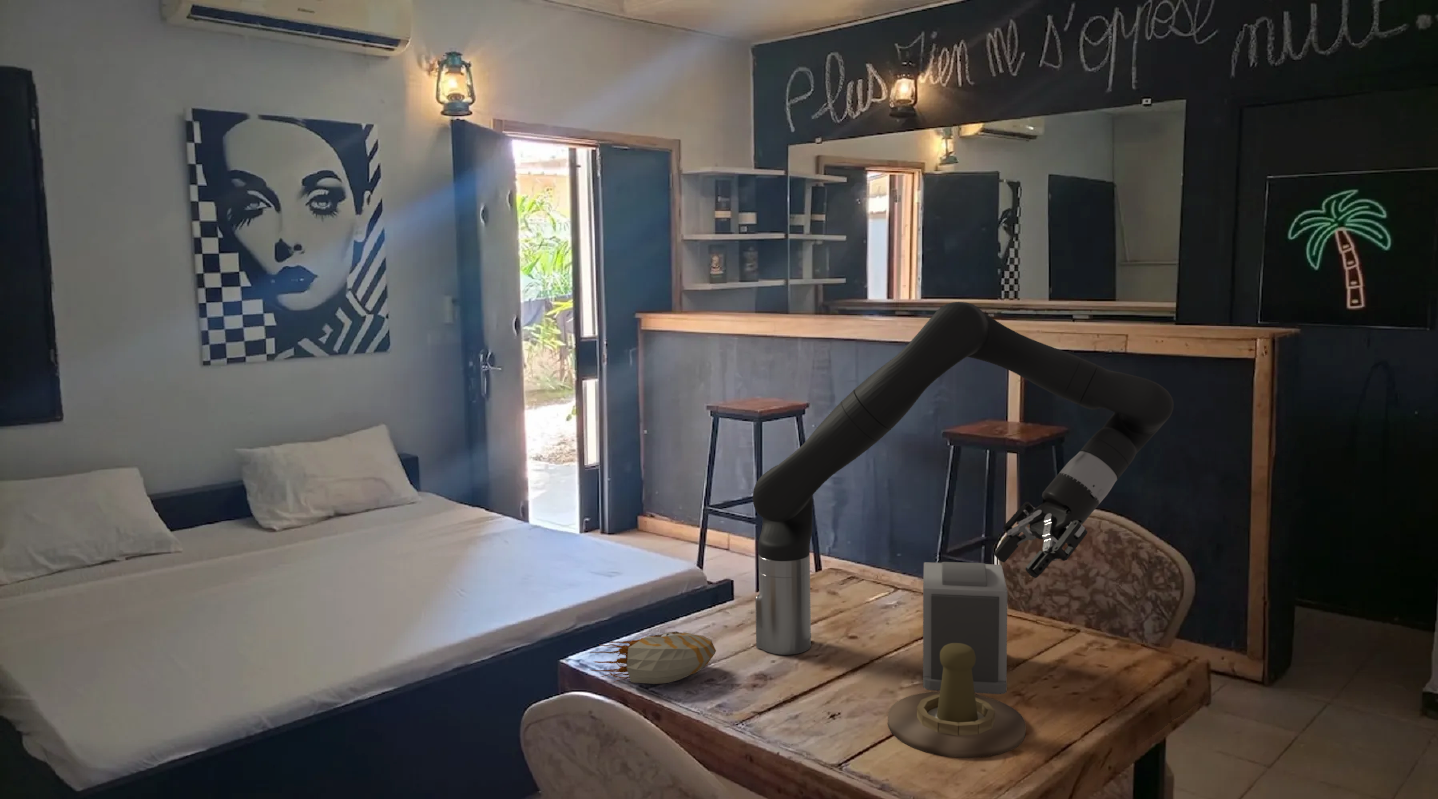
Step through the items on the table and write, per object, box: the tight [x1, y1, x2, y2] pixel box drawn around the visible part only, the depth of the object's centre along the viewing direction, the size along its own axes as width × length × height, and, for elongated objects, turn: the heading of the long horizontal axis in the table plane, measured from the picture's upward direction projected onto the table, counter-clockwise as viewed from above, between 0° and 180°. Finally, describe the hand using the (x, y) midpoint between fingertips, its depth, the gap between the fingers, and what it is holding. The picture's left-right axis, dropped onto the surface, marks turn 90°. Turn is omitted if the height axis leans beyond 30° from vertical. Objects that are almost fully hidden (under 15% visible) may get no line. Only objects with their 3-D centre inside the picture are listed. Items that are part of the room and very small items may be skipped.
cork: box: [937, 643, 978, 723], centre depth 154 cm, size 6×6×11 cm
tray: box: [887, 690, 1027, 759], centre depth 154 cm, size 20×20×3 cm
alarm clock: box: [922, 561, 1008, 695], centre depth 174 cm, size 18×13×18 cm
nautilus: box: [589, 631, 717, 685], centre depth 175 cm, size 8×22×15 cm
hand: (1013, 566), depth 159 cm, fingers open, 8 cm apart
